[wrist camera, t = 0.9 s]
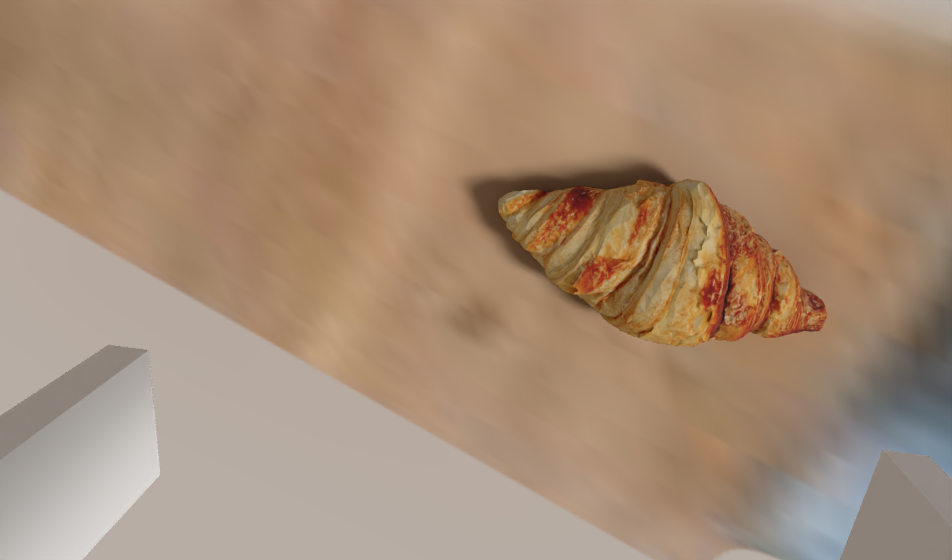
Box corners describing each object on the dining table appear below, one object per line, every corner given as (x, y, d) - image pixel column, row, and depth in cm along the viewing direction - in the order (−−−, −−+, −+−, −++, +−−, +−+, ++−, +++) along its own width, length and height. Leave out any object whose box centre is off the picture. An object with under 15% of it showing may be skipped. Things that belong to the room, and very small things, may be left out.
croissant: (490, 227, 43) (462, 308, 38) (530, 106, 36) (502, 185, 31) (772, 322, 43) (784, 417, 38) (869, 220, 36) (902, 319, 31)
